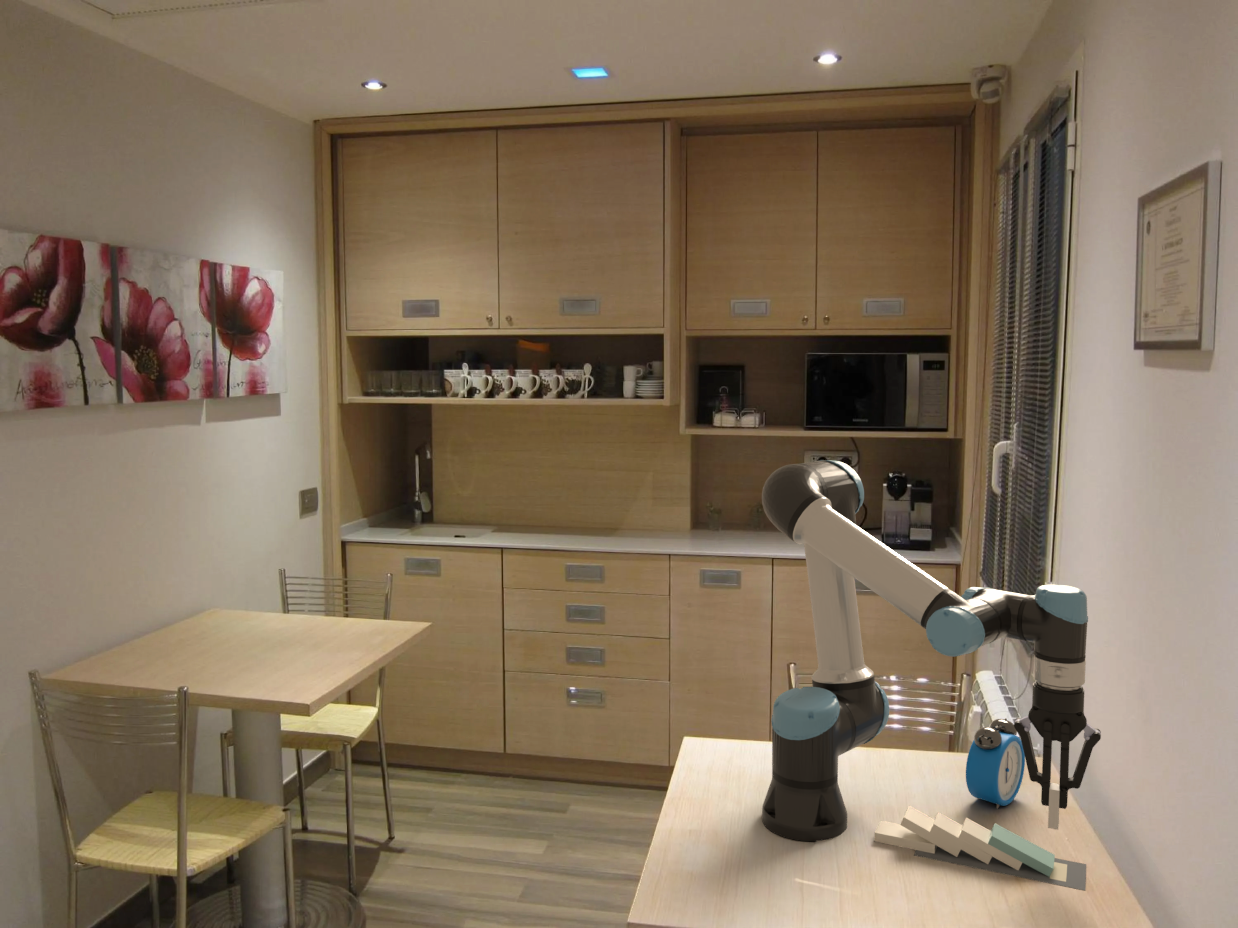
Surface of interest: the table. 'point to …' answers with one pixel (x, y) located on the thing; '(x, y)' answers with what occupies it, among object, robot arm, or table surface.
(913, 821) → the domino
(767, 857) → the table surface
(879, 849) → the table surface
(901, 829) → the domino
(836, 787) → the robot arm
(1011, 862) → the domino
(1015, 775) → the alarm clock
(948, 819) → the domino
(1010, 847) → the domino
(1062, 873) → the mat
